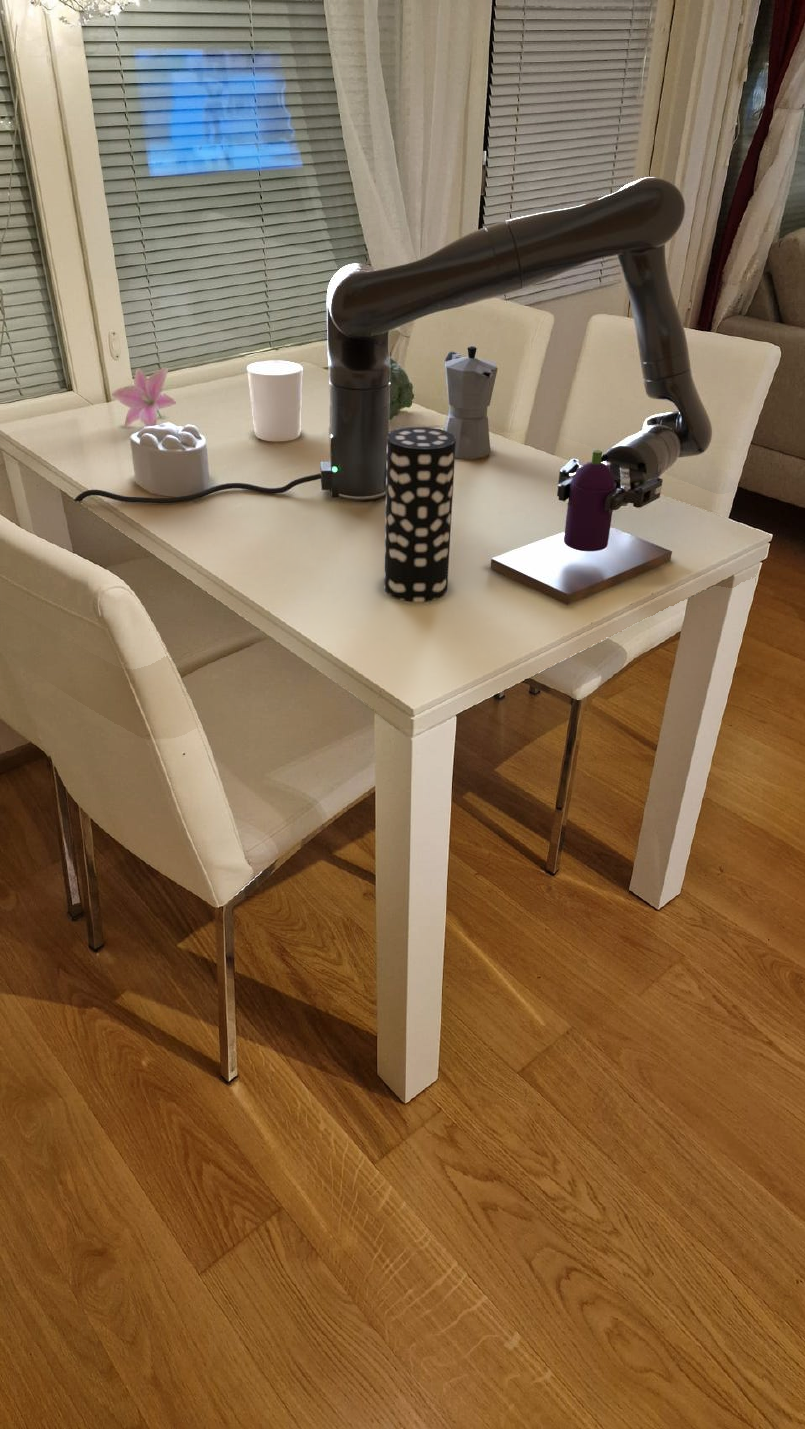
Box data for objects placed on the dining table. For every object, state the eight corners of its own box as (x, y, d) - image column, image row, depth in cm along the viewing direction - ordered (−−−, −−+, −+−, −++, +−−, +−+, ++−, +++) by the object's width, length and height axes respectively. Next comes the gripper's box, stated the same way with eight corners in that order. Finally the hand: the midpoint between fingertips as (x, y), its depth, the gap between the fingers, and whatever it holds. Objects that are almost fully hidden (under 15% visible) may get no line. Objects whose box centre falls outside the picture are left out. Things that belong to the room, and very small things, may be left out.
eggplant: (569, 552, 132) (581, 459, 125) (559, 534, 137) (569, 444, 130) (613, 551, 133) (626, 458, 126) (601, 533, 138) (613, 443, 131)
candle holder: (315, 433, 182) (313, 366, 175) (282, 447, 175) (279, 378, 168) (273, 423, 186) (270, 357, 179) (239, 436, 179) (235, 368, 172)
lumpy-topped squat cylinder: (183, 465, 165) (177, 414, 160) (225, 487, 157) (221, 434, 152) (127, 479, 159) (120, 426, 155) (168, 502, 151) (162, 447, 147)
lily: (113, 422, 187) (96, 384, 178) (163, 389, 190) (148, 350, 182) (149, 456, 183) (133, 419, 174) (199, 422, 186) (186, 384, 177)
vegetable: (439, 404, 191) (408, 386, 178) (390, 447, 196) (356, 432, 182) (406, 357, 193) (373, 335, 180) (359, 400, 198) (323, 382, 185)
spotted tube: (382, 574, 132) (384, 427, 121) (443, 573, 133) (451, 427, 122) (386, 602, 125) (389, 449, 114) (450, 601, 126) (460, 449, 115)
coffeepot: (506, 459, 172) (516, 353, 162) (459, 466, 169) (465, 358, 159) (465, 433, 184) (472, 333, 174) (420, 439, 180) (424, 336, 170)
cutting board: (567, 605, 126) (569, 594, 125) (490, 568, 135) (491, 558, 134) (670, 561, 138) (672, 551, 138) (593, 529, 147) (594, 520, 146)
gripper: (591, 428, 142) (538, 460, 130) (687, 448, 136) (639, 484, 124) (585, 478, 146) (532, 513, 135) (677, 500, 140) (631, 539, 128)
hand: (584, 499), depth 129 cm, fingers closed on eggplant, 6 cm apart
